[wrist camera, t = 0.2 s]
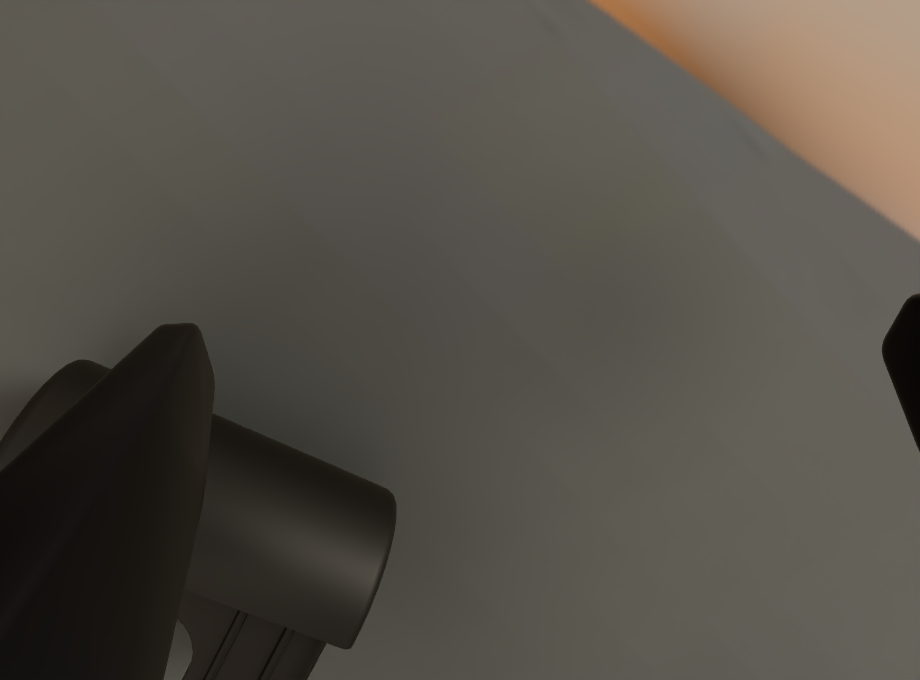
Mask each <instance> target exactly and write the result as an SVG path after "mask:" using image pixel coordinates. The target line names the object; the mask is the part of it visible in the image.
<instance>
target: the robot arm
mask: <svg viewBox="0 0 920 680" xmlns="http://www.w3.org/2000/svg"><path fill="white" fill-rule="evenodd" d="M882 355H883V359H884V362H885V365H886V367H887V370H888V372H889V375H890V378H891V380H892V383H893V385H894V388H895V390H896V393H897V396H898V398H899V401H900V403H901V406H902V408H903V411H904V414H905V416H906V419H907V421H908V424H909V427H910V429H911V432H912V434H913V437H914V439H915V442H916V444H917V447H918V449H919V451H920V293H918V294H915V295H912V296H911V297H910V298H908V299H907V300H906V302H905V303H904V305H903V306H902V308H901V310H900V312H899V314H898V315H897V317H896V319H895V321H894V322H893V324H892V326H891V328H890V329H889V331H888V333H887V335H886V336H885V338H884V341H883V345H882ZM214 389H215V383H214V374H213V370H212V366H211V363H210V360H209V356H208V353H207V350H206V347H205V343H204V340H203V337H202V334H201V331H200V329H199V328H198V326H196V325H195V324H193V323H181V324H165V325H161V326H159V327H158V328H156V329H155V330H154V331H153V332H152V333H151V334H150V335H149V336H148V337H146V338H145V339H144V340H143V341H142V342H141V343H140V344H139V345H138V346H137V347H136V348H134V349H133V350H132V351H131V352H130V353H129V354H128V355H127V356H126V357H125V358H123V359H122V360H121V361H120V362H119V363H118V364H117V365H116V366H115V367H114V368H113V369H111V370H110V371H109V372H108V373H107V374H106V375H105V376H104V377H103V378H102V379H100V380H99V381H98V382H97V383H96V384H95V385H94V386H93V387H92V388H91V389H90V390H88V391H87V392H86V393H85V394H84V395H83V396H82V397H81V398H80V399H79V400H77V401H76V402H75V403H74V404H73V405H72V406H71V407H70V408H69V409H68V410H67V411H65V412H64V413H63V414H62V415H61V416H60V417H59V418H58V419H57V420H56V421H54V422H53V423H52V424H51V425H50V426H49V427H48V428H47V429H46V430H45V431H44V432H42V433H41V434H40V435H39V436H38V437H37V438H36V439H35V440H34V441H33V442H31V443H30V444H29V445H28V446H27V447H26V448H25V449H24V450H23V451H22V452H21V453H19V454H18V455H17V456H16V457H15V458H14V459H13V460H12V461H11V462H10V463H8V464H7V465H6V466H5V467H4V468H3V469H2V470H1V471H0V680H163V679H164V674H165V670H166V665H167V661H168V656H169V652H170V648H171V643H172V639H173V634H174V630H175V626H176V621H177V617H178V612H179V608H180V603H181V599H182V595H183V590H184V586H185V581H186V577H187V573H188V568H189V564H190V559H191V555H192V550H193V546H194V542H195V537H196V533H197V528H198V524H199V520H200V515H201V510H202V504H203V499H204V491H205V483H206V473H207V462H208V452H209V442H210V431H211V421H212V411H213V400H214Z"/></svg>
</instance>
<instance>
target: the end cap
mask: <svg viewBox="0 0 920 680" xmlns="http://www.w3.org/2000/svg"><path fill="white" fill-rule="evenodd" d="M110 370H111V369H109V368H106V367H104V366H102V365H100V364H97V363H95V362H93V361H89V360H77V361H74V362H72V363H70V364H67V365H66V366H65V367H63V368H62V369H61V370H59V371H58V372H57V373H55V374H54V375H53V376H52V377H51V378H50V379H49V380H48V381H47V382H46V383H45V384H44V385H43V386H42V387H41V388H40V389H39V390H38V392H37V393H36V394H35V395H34V396H33V397H32V398H31V399H30V401H29V402H28V403H27V405H26V406H25V407H24V409H23V410H22V411H21V412H20V414H19V415H18V416H17V418H16V419H15V421H14V422H13V424H12V425H11V426H10V428H9V429H8V431H7V432H6V434H5V435H4V437H3V438H2V440H1V441H0V471H1V470H2V469H3V468H4V467H5V466H6V465H7V464H8V463H10V462H11V461H12V460H13V459H14V458H15V457H16V456H17V455H18V454H19V453H21V452H22V451H23V450H24V449H25V448H26V447H27V446H28V445H29V444H30V443H31V442H33V441H34V440H35V439H36V438H37V437H38V436H39V435H40V434H41V433H42V432H44V431H45V430H46V429H47V428H48V427H49V426H50V425H51V424H52V423H53V422H54V421H56V420H57V419H58V418H59V417H60V416H61V415H62V414H63V413H64V412H65V411H67V410H68V409H69V408H70V407H71V406H72V405H73V404H74V403H75V402H76V401H77V400H79V399H80V398H81V397H82V396H83V395H84V394H85V393H86V392H87V391H88V390H90V389H91V388H92V387H93V386H94V385H95V384H96V383H97V382H98V381H99V380H100V379H102V378H103V377H104V376H105V375H106V374H107V373H108V372H109V371H110ZM395 524H396V502H395V498H394V495H393V494H392V493H391V492H390V491H389V490H388V489H386V488H384V487H382V486H379V485H377V484H375V483H372V482H370V481H368V480H365V479H363V478H361V477H358V476H356V475H354V474H352V473H349V472H347V471H345V470H342V469H340V468H338V467H335V466H333V465H331V464H328V463H326V462H324V461H321V460H319V459H317V458H315V457H312V456H310V455H308V454H305V453H303V452H301V451H298V450H296V449H294V448H291V447H289V446H287V445H284V444H282V443H280V442H278V441H275V440H273V439H271V438H268V437H266V436H264V435H261V434H259V433H257V432H254V431H252V430H250V429H247V428H245V427H243V426H241V425H238V424H236V423H234V422H231V421H229V420H227V419H224V418H222V417H220V416H217V415H215V414H213V413H212V421H211V431H210V442H209V452H208V462H207V473H206V483H205V491H204V499H203V504H202V510H201V515H200V520H199V524H198V528H197V533H196V537H195V542H194V546H193V550H192V555H191V559H190V564H189V568H188V573H187V577H186V581H185V586H184V590H183V595H182V599H181V603H180V608H179V612H178V617H177V618H178V619H179V620H180V622H181V623H182V624H183V625H184V626H185V628H186V630H187V631H188V633H189V636H190V639H191V641H192V649H193V654H192V661H191V663H190V665H189V667H188V669H187V671H186V673H185V675H184V677H183V679H182V680H307V679H308V677H309V675H310V673H311V671H312V669H313V668H314V666H315V664H316V662H317V660H318V658H319V656H320V654H321V653H322V651H323V649H324V647H325V645H326V643H329V644H331V645H334V646H337V647H339V648H342V649H350V648H351V647H352V646H353V644H354V642H355V640H356V638H357V636H358V634H359V632H360V630H361V628H362V626H363V623H364V621H365V619H366V617H367V614H368V612H369V610H370V608H371V605H372V602H373V600H374V597H375V595H376V592H377V590H378V587H379V584H380V581H381V578H382V575H383V573H384V570H385V567H386V563H387V560H388V556H389V553H390V549H391V545H392V540H393V536H394V531H395Z"/></svg>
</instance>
